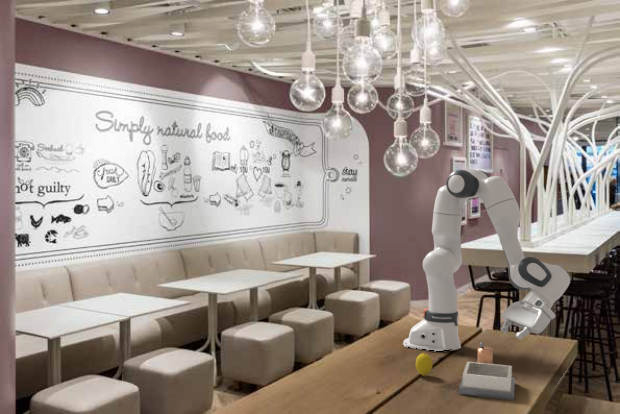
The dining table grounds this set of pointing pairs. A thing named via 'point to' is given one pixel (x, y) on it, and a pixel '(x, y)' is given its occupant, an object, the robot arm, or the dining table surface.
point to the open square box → (488, 381)
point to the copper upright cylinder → (485, 354)
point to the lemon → (424, 364)
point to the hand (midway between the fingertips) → (510, 334)
